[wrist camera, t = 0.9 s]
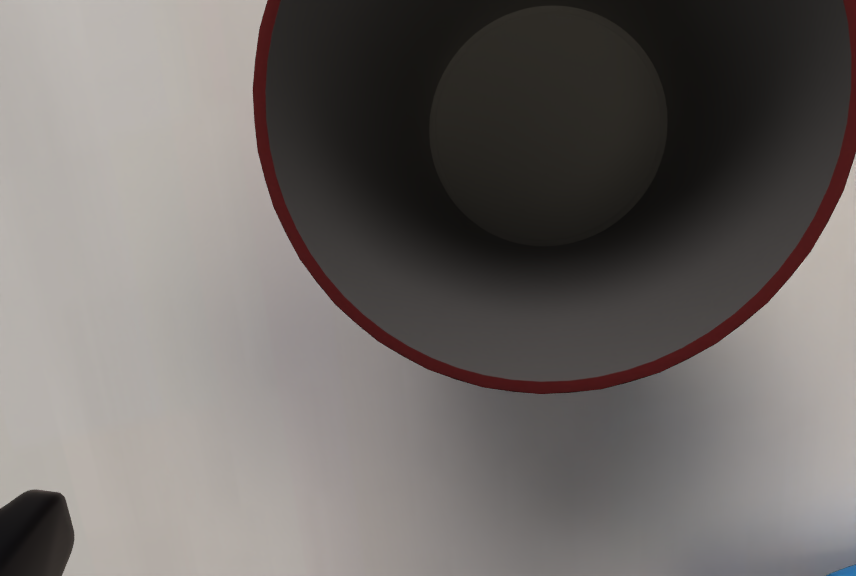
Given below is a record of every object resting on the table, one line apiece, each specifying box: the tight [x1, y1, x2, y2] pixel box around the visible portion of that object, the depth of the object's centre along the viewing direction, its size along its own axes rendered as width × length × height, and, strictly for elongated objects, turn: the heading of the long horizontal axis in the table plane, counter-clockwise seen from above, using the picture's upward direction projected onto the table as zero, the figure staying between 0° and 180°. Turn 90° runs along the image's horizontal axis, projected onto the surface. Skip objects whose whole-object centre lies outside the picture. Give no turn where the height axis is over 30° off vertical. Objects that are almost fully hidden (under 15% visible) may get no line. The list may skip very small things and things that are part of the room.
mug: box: [253, 0, 856, 394], centre depth 16 cm, size 12×9×11 cm
